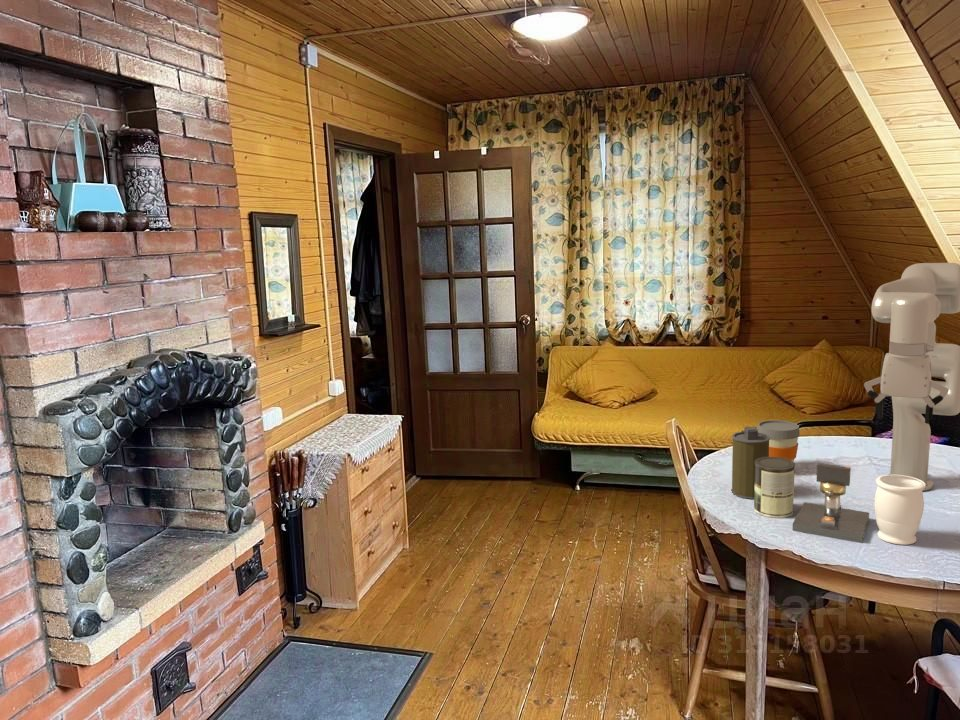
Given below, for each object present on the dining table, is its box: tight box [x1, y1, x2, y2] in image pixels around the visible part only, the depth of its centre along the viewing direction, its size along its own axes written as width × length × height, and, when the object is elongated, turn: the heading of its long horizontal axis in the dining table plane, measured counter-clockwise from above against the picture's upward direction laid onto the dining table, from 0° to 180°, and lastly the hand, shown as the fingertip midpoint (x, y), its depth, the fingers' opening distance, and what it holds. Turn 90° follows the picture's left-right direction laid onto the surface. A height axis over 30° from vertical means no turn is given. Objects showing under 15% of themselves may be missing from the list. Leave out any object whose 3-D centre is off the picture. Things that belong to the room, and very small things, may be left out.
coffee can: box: [753, 457, 796, 519], centre depth 199 cm, size 10×10×14 cm
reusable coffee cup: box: [756, 419, 800, 463], centre depth 230 cm, size 13×13×15 cm
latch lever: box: [816, 463, 852, 497], centre depth 187 cm, size 9×8×7 cm
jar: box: [873, 474, 925, 546], centre depth 179 cm, size 11×10×15 cm
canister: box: [730, 425, 770, 500], centre depth 212 cm, size 11×10×20 cm
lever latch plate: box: [792, 494, 870, 544], centre depth 188 cm, size 16×16×9 cm
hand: (903, 420), depth 172 cm, fingers open, 9 cm apart
